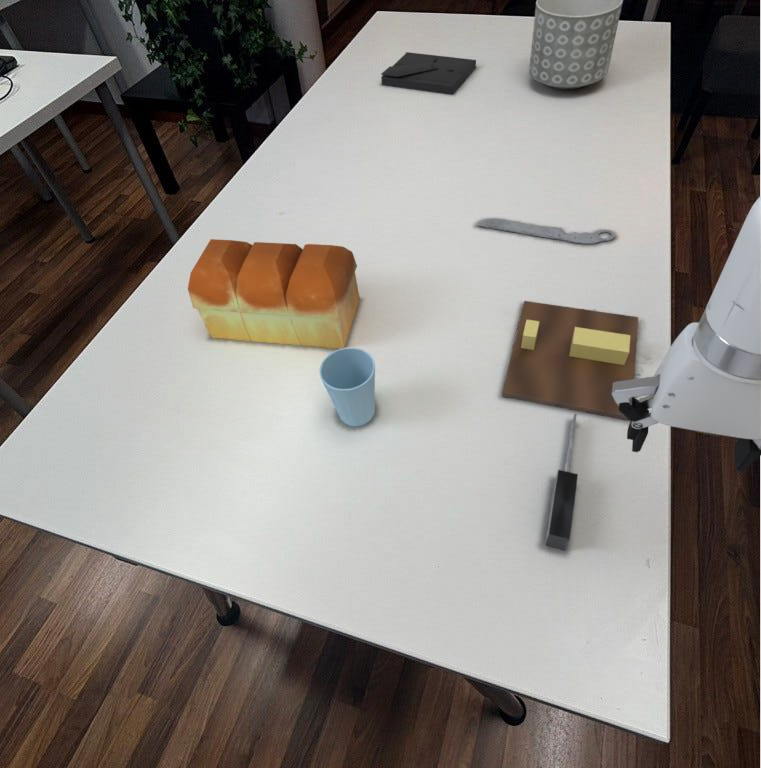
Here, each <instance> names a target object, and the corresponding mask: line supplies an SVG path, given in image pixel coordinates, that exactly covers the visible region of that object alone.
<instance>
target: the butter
mask: <svg viewBox="0 0 761 768" xmlns="http://www.w3.org/2000/svg"><path fill="white" fill-rule="evenodd" d="M629 348H630V335H625V334H618V333H612V332H605V331H599V330H592V329H586V328H579V327H575V329H574V333H573V337H572V341H571V348H570V354H569V356H571V357H577V358H583V359H589V360H595V361H602V362H608V363H614V364H620V365H625V362H626V359H627V357H628V354H629Z"/></svg>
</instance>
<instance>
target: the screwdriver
mask: <svg viewBox="0 0 761 768" xmlns="http://www.w3.org/2000/svg"><path fill="white" fill-rule="evenodd" d="M576 421H577V413H574V414H573V416H572V420H571V423H570V428H569V429H570V430H569V438H568V443H567V451H566V457H565V465H564V470H562V469H558V470H557V473H556V475H555V478H554V479H555V480H554V484H553V489H552V495H551V503H550V509H549V515H548V523H547V529H546V536H545V540H544V541H545V542H544V546H545V547H549V548H553V549H555V550H560V551H563V552H564V551H566V549H567V546H568V544H569V542H570V539H571V533H572V524H573V517H574V516H573V515H574V508H575V500H576V493H577V484H578V476H579V474H578V473H575V472H571V471H570V465H571V458H572V451H573V443H574V436H575V428H576Z"/></svg>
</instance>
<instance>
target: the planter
mask: <svg viewBox="0 0 761 768" xmlns="http://www.w3.org/2000/svg"><path fill="white" fill-rule="evenodd" d="M623 3H624V0H536V2H535V10H534V20H533V30H532V40H531V49H530V58H529V67H528V72H529V76H530V77H531V78H532V79H534V80H535V81H537V82H538V83H541V84H543V85H545V86H548V87H550V88H553V89H557V90H567V91H568V90H574V89H579V88H582V87H585V86H589V85H592V84H595V83H597V82H599V81H601V80H602V79H604V78H605V77H606V76H607V74H608V72H609V70H610V69H609V68H610V65H611V59H612V55H613V49H614V44H615V41H616V36H617V30H618V26H619V21H620V16H621V13H622V7H623Z"/></svg>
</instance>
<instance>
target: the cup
mask: <svg viewBox="0 0 761 768" xmlns="http://www.w3.org/2000/svg"><path fill="white" fill-rule="evenodd" d="M319 377H320V379H321V381H322V384H323V386H324V388H325V390H326V391H327V393H328V396H329V398H330V400H331V402H332V404H333V407H334V408H335V410H336V413H337V414H338V417H339V418H340V420H341V422H343V423H344V424H346V425H347V426H350V427H361V426H364V425H366V424H367V423H369V422H370V421H371V420H372V419H373V417H374V415H375V413H376V412H375V411H376V383H375V382H376V363H375V360H374V358H373V356H372V355H371V354H370V353H369V352H368V351H366V350H364V349H362V348H358V347H350V346H349V347H345V348H342V349H336V350H334V351H331V353H329V354H328V355H326V356H325V357H324V358H323V360H322V362H321V363H320V366H319Z"/></svg>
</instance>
